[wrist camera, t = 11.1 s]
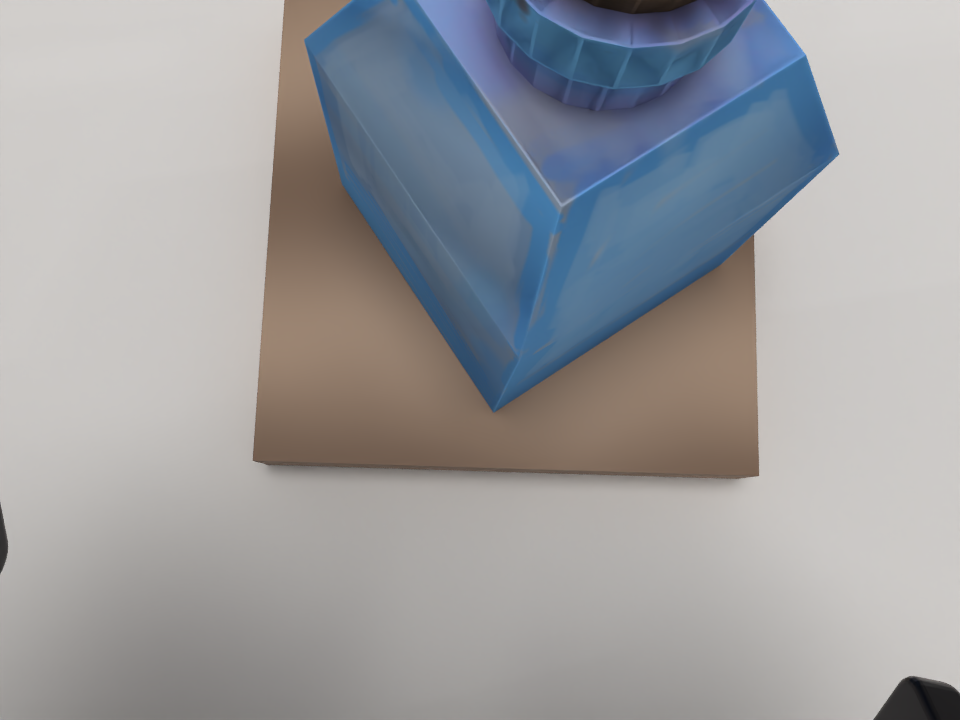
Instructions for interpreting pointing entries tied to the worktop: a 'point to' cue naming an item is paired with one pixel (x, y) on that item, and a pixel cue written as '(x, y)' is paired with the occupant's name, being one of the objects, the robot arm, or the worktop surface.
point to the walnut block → (435, 368)
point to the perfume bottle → (562, 158)
